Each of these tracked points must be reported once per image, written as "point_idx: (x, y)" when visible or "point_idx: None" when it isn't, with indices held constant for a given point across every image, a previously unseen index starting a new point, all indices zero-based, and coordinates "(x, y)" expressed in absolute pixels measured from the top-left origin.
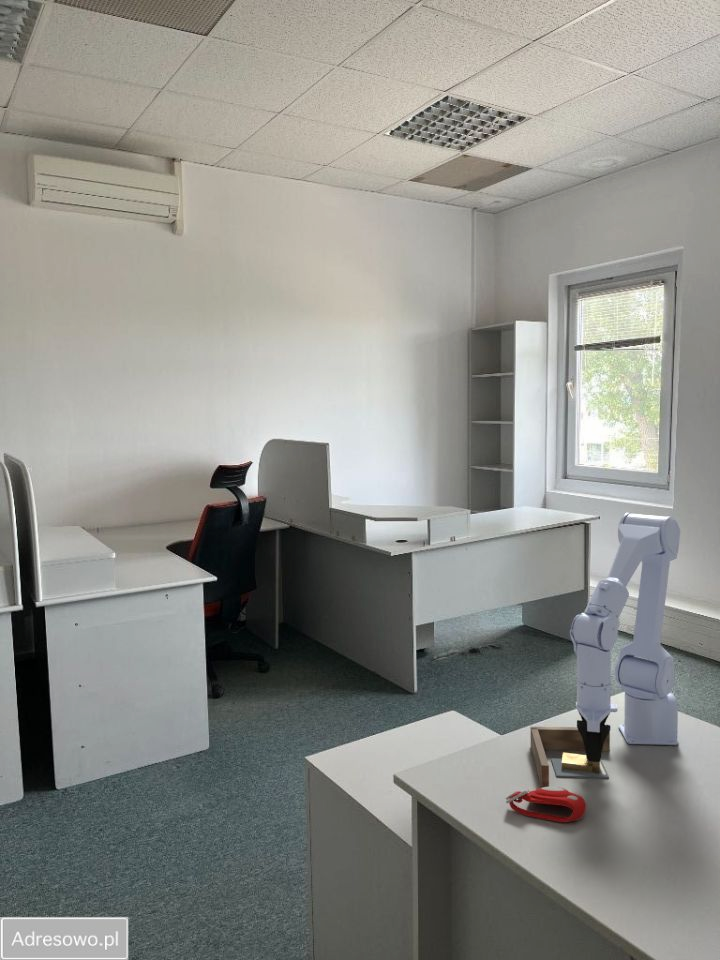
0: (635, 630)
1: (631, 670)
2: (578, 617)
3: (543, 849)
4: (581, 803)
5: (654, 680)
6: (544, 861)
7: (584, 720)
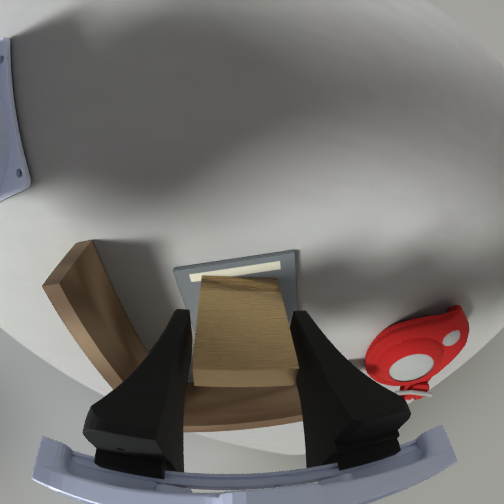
0: None
1: None
2: None
3: (481, 330)
4: (462, 320)
5: None
6: (495, 325)
7: (182, 432)
